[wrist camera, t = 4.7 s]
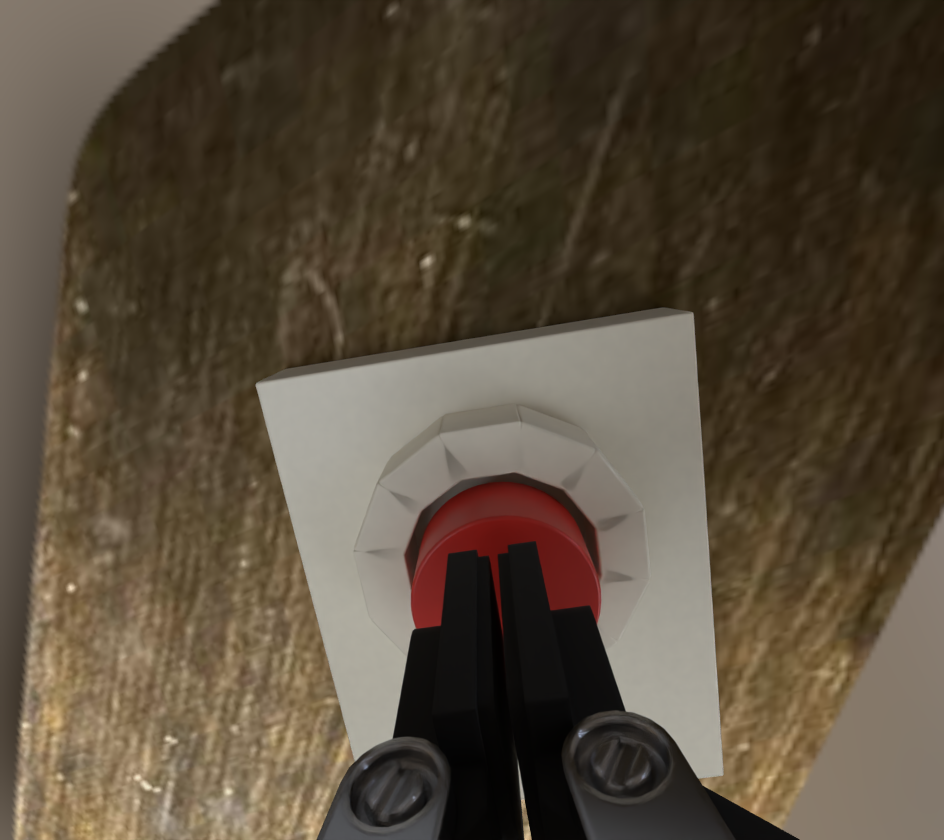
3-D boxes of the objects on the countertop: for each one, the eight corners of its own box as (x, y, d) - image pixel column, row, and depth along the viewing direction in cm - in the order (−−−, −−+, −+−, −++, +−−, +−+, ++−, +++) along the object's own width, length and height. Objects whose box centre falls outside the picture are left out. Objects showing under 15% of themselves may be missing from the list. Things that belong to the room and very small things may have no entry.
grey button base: (283, 369, 16) (222, 398, 12) (665, 306, 16) (726, 316, 12) (380, 760, 20) (356, 879, 16) (697, 720, 19) (752, 834, 15)
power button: (406, 493, 13) (393, 532, 11) (574, 468, 13) (591, 503, 11) (436, 639, 14) (428, 697, 12) (593, 617, 14) (611, 674, 12)
